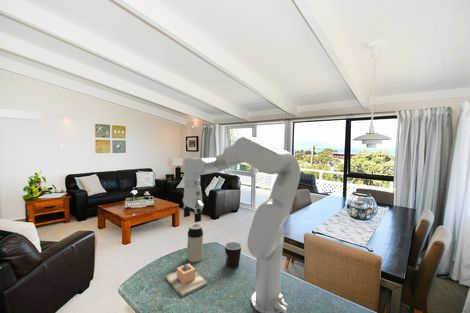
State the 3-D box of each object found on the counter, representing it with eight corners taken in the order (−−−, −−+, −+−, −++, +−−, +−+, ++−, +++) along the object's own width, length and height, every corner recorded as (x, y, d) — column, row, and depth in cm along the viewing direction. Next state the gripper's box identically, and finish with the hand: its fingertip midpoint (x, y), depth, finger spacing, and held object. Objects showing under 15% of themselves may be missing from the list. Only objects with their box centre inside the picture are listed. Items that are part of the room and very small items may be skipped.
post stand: (207, 284, 93) (207, 268, 92) (182, 297, 85) (182, 279, 84) (188, 268, 105) (189, 254, 104) (165, 277, 97) (165, 262, 96)
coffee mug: (241, 269, 104) (241, 250, 104) (223, 269, 105) (224, 249, 104) (240, 257, 116) (241, 239, 116) (225, 257, 116) (225, 239, 116)
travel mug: (203, 255, 118) (203, 223, 117) (201, 262, 110) (202, 228, 109) (188, 254, 118) (189, 223, 117) (186, 262, 110) (186, 228, 109)
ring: (195, 278, 94) (195, 269, 94) (183, 284, 90) (183, 274, 90) (188, 272, 99) (188, 263, 99) (176, 277, 95) (176, 267, 95)
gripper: (209, 185, 97) (209, 221, 98) (189, 180, 110) (189, 213, 111) (195, 186, 92) (195, 225, 93) (176, 182, 105) (176, 216, 105)
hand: (192, 218), depth 102 cm, fingers open, 9 cm apart
